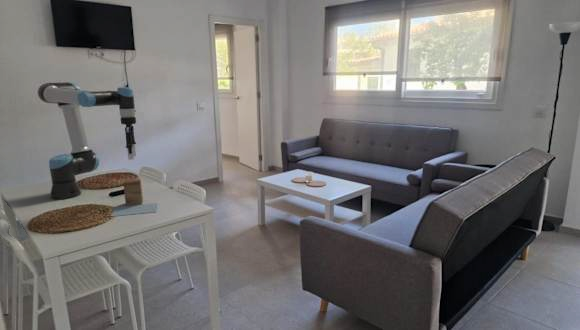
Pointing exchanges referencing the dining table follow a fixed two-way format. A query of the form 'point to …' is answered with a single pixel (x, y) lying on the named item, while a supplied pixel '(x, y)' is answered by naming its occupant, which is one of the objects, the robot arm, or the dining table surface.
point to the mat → (134, 209)
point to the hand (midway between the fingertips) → (132, 157)
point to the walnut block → (133, 192)
